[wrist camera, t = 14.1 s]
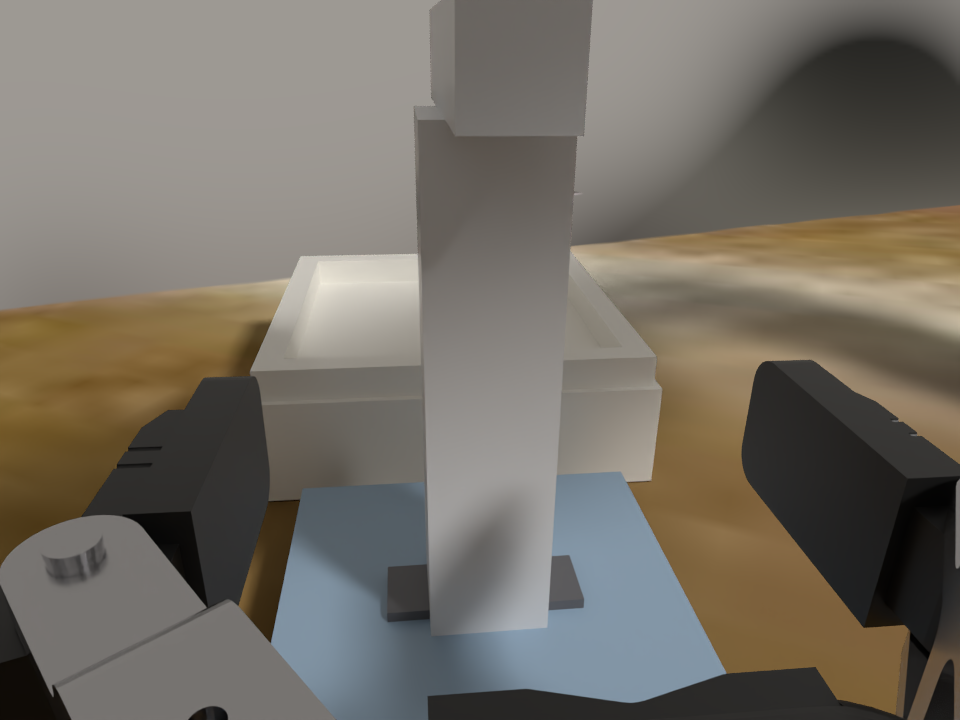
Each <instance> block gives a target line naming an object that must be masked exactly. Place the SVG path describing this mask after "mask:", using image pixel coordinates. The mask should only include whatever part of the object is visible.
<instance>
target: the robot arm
mask: <svg viewBox="0 0 960 720" xmlns="http://www.w3.org/2000/svg"><path fill="white" fill-rule="evenodd" d="M742 464H743V469H744V472H745V475H746V478H747V480H748V482H749V483H750V485H751V486H752V487H753V489H754V490H755V491H756V492H757V494H758V495H759V496H760V497H761V499H762V500H763V501H764V502H765V504H766V505H767V506H768V508H769V509H770V510H771V511H772V513H773V514H774V515H775V516H776V518H777V519H778V520H779V521H780V523H781V524H782V525H783V526H784V528H785V529H786V530H787V531H788V533H789V534H790V535H791V537H792V538H793V539H794V540H795V542H796V543H797V544H798V545H799V547H800V548H801V549H802V550H803V552H804V553H805V554H806V555H807V557H808V558H809V559H810V560H811V562H812V563H813V564H814V566H815V567H816V568H817V569H818V571H819V572H820V573H821V574H822V576H823V577H824V578H825V579H826V581H827V582H828V583H829V584H830V586H831V587H832V588H833V590H834V591H835V592H836V593H837V595H838V596H839V597H840V598H841V600H842V601H843V602H844V603H845V605H846V606H847V607H848V608H849V610H850V611H851V612H852V613H853V615H854V616H855V617H856V619H857V620H858V621H859V622H860V624H861V625H862V626H863V627H864V628H867V627H881V626H896V625H905V626H906V627H907V628H908V629H909V630H908V633H907V637H906V640H905V643H904V646H903V649H902V653H901V663H900V674H899V684H898V694H897V705H896V715H894V714H891V713H888V712H885V711H882V710H879V709H876V708H873V707H869V706H865V705H861V704H856V703H852V702H848V701H843V700H837V699H836V697H835V696H834V694H833V693H832V691H831V690H830V688H829V687H828V685H827V684H826V682H825V681H824V679H823V678H822V676H821V675H820V673H819V672H818V670H817V669H816V667H811V668H798V669H784V670H771V671H757V672H744V673H730V674H722V675H719V676H716V677H713V678H710V679H707V680H704V681H701V682H698V683H695V684H692V685H689V686H686V687H683V688H680V689H677V690H674V691H672V692H669V693H666V694H663V695H660V696H657V697H654V698H651V699H648V700H645V701H641V702H634V703H627V702H618V701H611V700H604V699H597V698H590V697H582V696H575V695H568V694H561V693H554V692H547V691H540V690H533V689H515V690H501V691H488V692H474V693H461V694H448V695H434V696H427V697H428V720H960V464H958V463H957V462H956V461H954V460H953V459H952V458H950V457H949V456H948V455H946V454H945V453H944V452H942V451H941V450H940V449H938V448H937V447H936V446H934V445H933V444H932V443H930V442H929V441H928V440H926V439H925V438H924V437H922V436H917V432H916V431H914V430H913V429H912V428H910V427H909V426H908V425H906V424H905V423H904V422H899V421H898V418H897V417H896V416H894V415H893V414H892V413H890V412H889V411H888V410H886V409H885V408H884V407H882V406H881V405H880V404H879V403H877V402H876V401H873V400H871V399H869V398H867V397H865V396H862V395H860V394H858V393H856V392H854V391H852V390H851V389H850V388H849V387H847V386H846V385H845V384H843V383H842V382H841V381H839V380H838V379H837V378H836V377H834V376H833V375H832V374H830V373H829V372H828V371H826V370H825V369H824V368H822V367H821V366H820V365H819V364H817V363H816V362H814V361H812V360H791V361H765V362H763V363H762V364H761V365H760V366H759V367H758V369H757V371H756V374H755V378H754V383H753V388H752V394H751V399H750V405H749V410H748V416H747V421H746V427H745V432H744V438H743V443H742ZM269 490H270V469H269V459H268V451H267V443H266V435H265V427H264V419H263V411H262V403H261V395H260V389H259V384H258V381H257V379H256V377H255V376H244V377H212V378H204V379H203V380H202V381H201V383H200V384H199V386H198V388H197V389H196V391H195V393H194V394H193V396H192V398H191V400H190V401H189V403H188V405H187V406H186V408H185V410H167V411H166V412H164V413H163V414H161V415H160V416H159V417H157V418H156V419H154V420H153V421H151V422H150V423H148V424H147V425H145V426H144V427H142V428H141V430H140V431H139V433H138V434H137V435H136V437H135V438H134V440H133V441H132V443H131V444H130V446H129V447H128V452H125V453H124V455H123V456H122V458H121V459H120V461H119V462H118V464H117V469H113V471H112V472H111V474H110V475H109V477H108V478H107V480H106V481H105V483H104V484H103V486H102V487H101V489H100V490H99V492H98V493H97V495H96V496H95V497H94V499H93V500H92V502H91V503H90V505H89V506H88V508H87V509H86V511H85V512H84V514H83V515H82V517H81V518H76V519H72V520H68V521H65V522H62V523H59V524H56V525H54V526H51V527H49V528H47V529H44V530H42V531H40V532H38V533H36V534H35V535H33V536H31V537H30V538H28V539H27V540H25V541H23V542H22V543H21V544H20V545H18V546H17V547H16V548H15V549H14V550H13V551H12V552H11V553H10V554H9V555H8V556H7V557H6V559H5V560H4V562H3V563H2V565H1V568H0V720H336V719H335V718H334V716H333V715H332V714H331V713H330V712H329V711H328V709H327V708H326V707H325V706H324V705H323V704H322V702H321V701H320V700H319V699H318V698H317V697H316V695H315V694H314V693H313V692H312V691H311V690H310V689H309V687H308V686H307V685H306V684H305V683H304V682H303V680H302V679H301V678H300V677H299V676H298V675H297V673H296V672H295V671H294V670H293V669H292V668H291V667H290V665H289V664H288V663H287V662H286V661H285V660H284V658H283V657H282V656H281V655H280V654H279V653H278V651H277V650H276V649H275V648H274V647H273V646H272V645H271V643H270V642H269V641H268V640H267V639H266V638H265V636H264V635H263V634H262V633H261V632H260V631H259V629H258V628H257V627H256V626H255V625H254V624H253V623H252V621H251V620H250V619H249V618H248V617H247V616H246V614H245V613H244V612H243V611H242V610H241V609H240V608H239V607H238V605H239V601H240V598H241V595H242V591H243V588H244V584H245V581H246V577H247V574H248V570H249V567H250V564H251V560H252V557H253V553H254V550H255V546H256V543H257V540H258V536H259V533H260V529H261V526H262V522H263V519H264V515H265V512H266V509H267V505H268V500H269Z"/></svg>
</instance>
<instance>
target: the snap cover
mask: <svg viewBox="0 0 960 720" xmlns="http://www.w3.org/2000/svg"><path fill="white" fill-rule="evenodd" d="M592 3H593V0H441V1H440V2H438V3H437V4H436V5H435V6H434V7H433V8H432V9H430V52H431V53H430V54H431V55H430V59H431V98H432V100H433V101H434V103H435V105H436V106H414V131H415V166H416V200H417V201H416V204H417V240H418V276H419V312H420V348H421V384H422V420H423V456H424V482H415V483H396V484H378V485H359V486H340V487H321V488H303V489H302V494H301V499H300V504H299V509H298V514H297V518H296V523H295V528H294V533H293V538H292V543H291V548H290V553H289V557H288V562H287V567H286V572H285V577H284V582H283V587H282V592H281V596H280V601H279V606H278V611H277V616H276V621H275V626H274V630H273V635H272V640H271V645H272V646H273V647H274V648H275V649H276V650H277V651H278V653H279V654H280V655H281V656H282V657H283V658H284V660H285V661H286V662H287V663H288V664H289V665H290V667H291V668H292V669H293V670H294V671H295V672H296V673H297V675H298V676H299V677H300V678H301V679H302V680H303V682H304V683H305V684H306V685H307V686H308V687H309V689H310V690H311V691H312V692H313V693H314V694H315V695H316V697H317V698H318V699H319V700H320V701H321V702H322V704H323V705H324V706H325V707H326V708H327V709H328V711H329V712H330V713H331V714H332V715H333V716H334V718H335V719H336V720H428V697H427V696H434V695H448V694H461V693H474V692H488V691H501V690H515V689H533V690H540V691H547V692H554V693H561V694H568V695H575V696H582V697H590V698H597V699H604V700H611V701H618V702H627V703H634V702H641V701H645V700H648V699H651V698H654V697H657V696H660V695H663V694H666V693H669V692H672V691H674V690H677V689H680V688H683V687H686V686H689V685H692V684H695V683H698V682H701V681H704V680H707V679H710V678H713V677H716V676H719V675H722V674H726V672H725V670H724V668H723V666H722V664H721V662H720V660H719V658H718V656H717V654H716V652H715V651H714V649H713V647H712V645H711V643H710V641H709V639H708V637H707V635H706V633H705V631H704V630H703V628H702V626H701V624H700V622H699V620H698V618H697V616H696V614H695V612H694V610H693V608H692V607H691V605H690V603H689V601H688V599H687V597H686V595H685V593H684V591H683V589H682V587H681V586H680V584H679V582H678V580H677V578H676V576H675V574H674V572H673V570H672V568H671V566H670V565H669V563H668V561H667V559H666V557H665V555H664V553H663V551H662V549H661V547H660V545H659V543H658V542H657V540H656V538H655V536H654V534H653V532H652V530H651V528H650V526H649V524H648V522H647V521H646V519H645V517H644V515H643V513H642V511H641V509H640V507H639V505H638V503H637V501H636V499H635V498H634V496H633V494H632V492H631V490H630V488H629V486H628V484H627V482H626V480H625V478H624V477H623V475H622V473H621V471H620V472H602V473H583V474H564V475H557V461H558V444H559V428H560V411H561V395H562V378H563V362H564V345H565V329H566V312H567V296H568V280H569V263H570V247H571V230H572V214H573V197H574V180H575V163H576V147H577V136H584V127H585V112H586V96H587V81H588V66H589V49H590V35H591V17H592Z"/></svg>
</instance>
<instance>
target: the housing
mask: <svg viewBox="0 0 960 720" xmlns="http://www.w3.org/2000/svg"><path fill="white" fill-rule="evenodd" d="M656 363H657V356H656V355H655V354H654V352H653V351H652V350H651V349H650V348H649V346H648V345H647V344H646V343H645V341H644V340H643V339H642V338H641V337H640V335H639V334H638V333H637V332H636V330H635V329H634V328H633V327H632V326H631V324H630V323H629V322H628V321H627V319H626V318H625V317H624V316H623V315H622V313H621V312H620V311H619V310H618V309H617V307H616V306H615V305H614V304H613V302H612V301H611V300H610V299H609V298H608V296H607V295H606V294H605V293H604V291H603V290H602V289H601V288H600V287H599V285H598V284H597V283H596V282H595V280H594V279H593V278H592V277H591V276H590V274H589V273H588V272H587V271H586V269H585V268H584V267H583V266H582V265H581V263H580V262H579V261H578V260H577V259H576V257H575V256H574V255H573V254H572V252H571V251H570V263H569V280H568V296H567V312H566V329H565V345H564V362H563V378H562V395H561V411H560V428H559V444H558V461H557V475H564V474H583V473H602V472H620V471H621V473H622V475H623V477H624V478H625V480H626V482H636V481H651V477H652V469H653V461H654V453H655V445H656V437H657V429H658V421H659V413H660V405H661V397H662V388H661V387H660V385H659V384H658V383H657V381H656V380H655V371H656ZM250 376H255V377H256V379H257V381H258V384H259V389H260V395H261V403H262V411H263V419H264V427H265V435H266V443H267V451H268V459H269V469H270V490H269V500H268V501H280V500H299V499H301V494H302V489H303V488H321V487H340V486H359V485H378V484H396V483H415V482H424V456H423V420H422V384H421V348H420V312H419V276H418V254H394V255H393V254H391V255H344V256H343V255H342V256H301V257H300V259H299V262H298V264H297V266H296V268H295V271H294V273H293V275H292V277H291V280H290V282H289V284H288V286H287V289H286V291H285V293H284V295H283V298H282V300H281V302H280V304H279V307H278V309H277V311H276V314H275V316H274V318H273V320H272V323H271V325H270V327H269V329H268V332H267V334H266V336H265V338H264V341H263V343H262V345H261V347H260V350H259V352H258V354H257V356H256V359H255V361H254V363H253V365H252V368H251V370H250Z"/></svg>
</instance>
